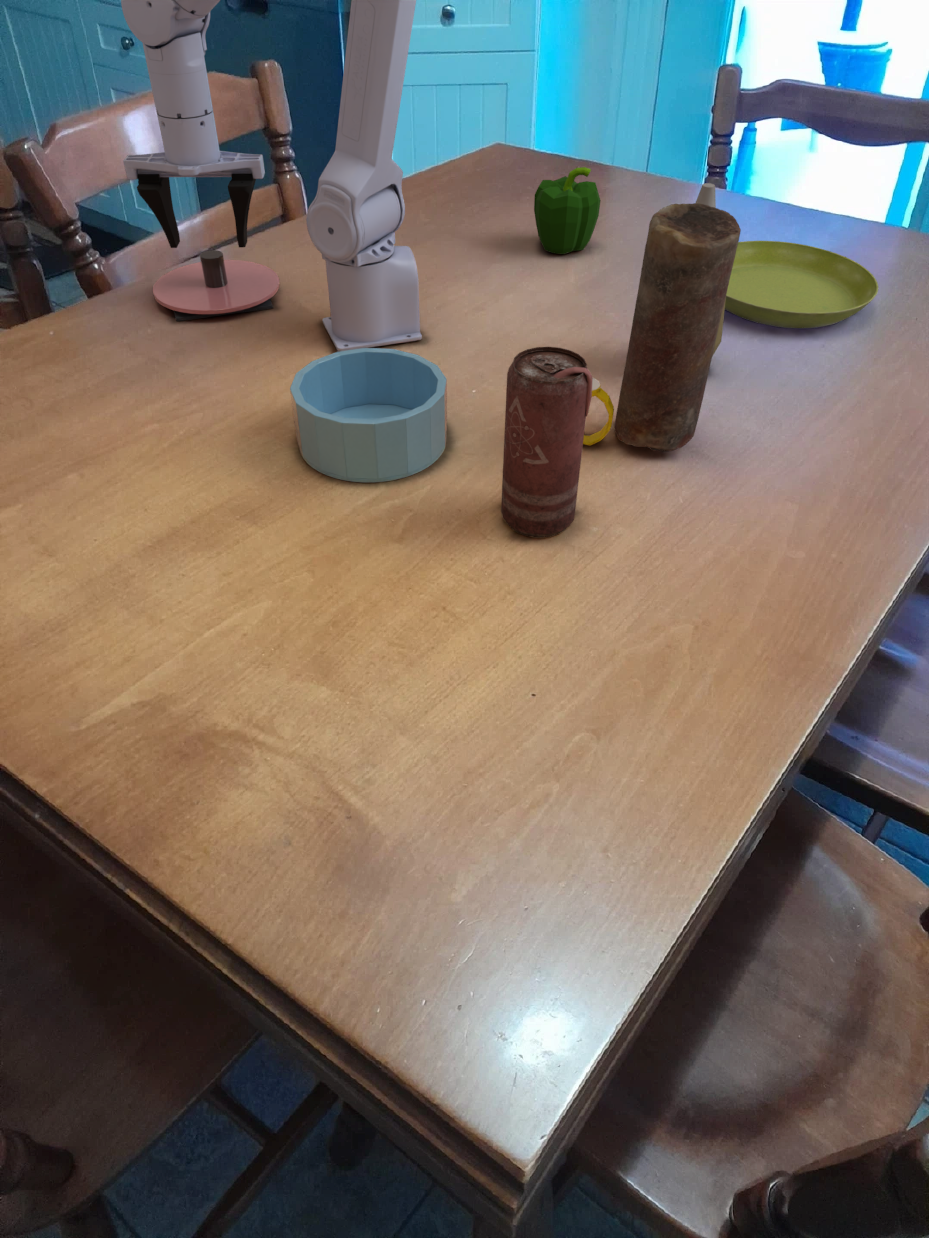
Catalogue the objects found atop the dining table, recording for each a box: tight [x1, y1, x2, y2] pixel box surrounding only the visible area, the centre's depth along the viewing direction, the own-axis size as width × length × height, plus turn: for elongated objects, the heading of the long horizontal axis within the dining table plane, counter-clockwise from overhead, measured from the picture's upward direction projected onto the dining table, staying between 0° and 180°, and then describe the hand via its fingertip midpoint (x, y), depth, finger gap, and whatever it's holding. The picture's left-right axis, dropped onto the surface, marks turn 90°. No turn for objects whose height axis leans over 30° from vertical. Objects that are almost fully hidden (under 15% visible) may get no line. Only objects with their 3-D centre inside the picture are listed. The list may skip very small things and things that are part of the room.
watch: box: [583, 377, 615, 447], centre depth 82 cm, size 6×3×6 cm, turn 79°
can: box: [500, 346, 593, 539], centre depth 70 cm, size 6×6×14 cm
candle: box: [613, 202, 742, 452], centre depth 77 cm, size 8×7×20 cm
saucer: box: [725, 240, 879, 329], centre depth 106 cm, size 21×21×3 cm
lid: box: [152, 249, 281, 314], centre depth 105 cm, size 15×15×4 cm
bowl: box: [289, 347, 448, 483], centre depth 82 cm, size 14×14×6 cm
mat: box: [173, 298, 274, 322], centre depth 107 cm, size 11×11×1 cm
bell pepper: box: [533, 166, 602, 255], centre depth 115 cm, size 8×8×10 cm
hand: (209, 244), depth 103 cm, fingers open, 7 cm apart
